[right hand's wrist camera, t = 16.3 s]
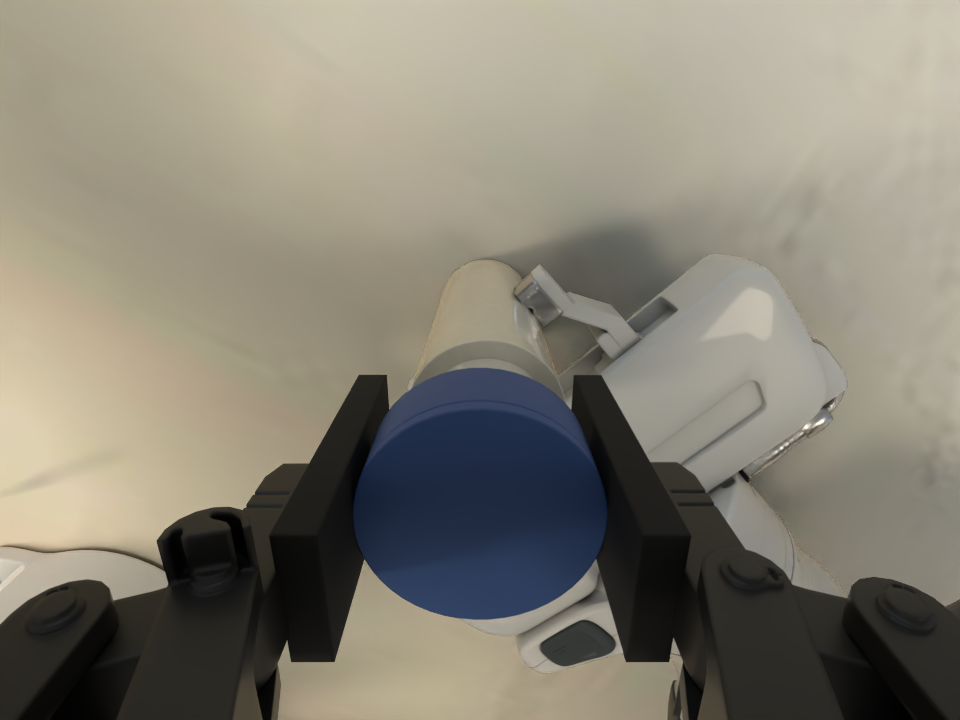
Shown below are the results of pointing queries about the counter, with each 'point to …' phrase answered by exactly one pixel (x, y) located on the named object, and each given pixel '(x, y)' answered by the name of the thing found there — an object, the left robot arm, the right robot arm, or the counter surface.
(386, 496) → the lid
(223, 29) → the counter surface
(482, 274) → the cream bottle
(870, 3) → the counter surface
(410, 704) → the counter surface
